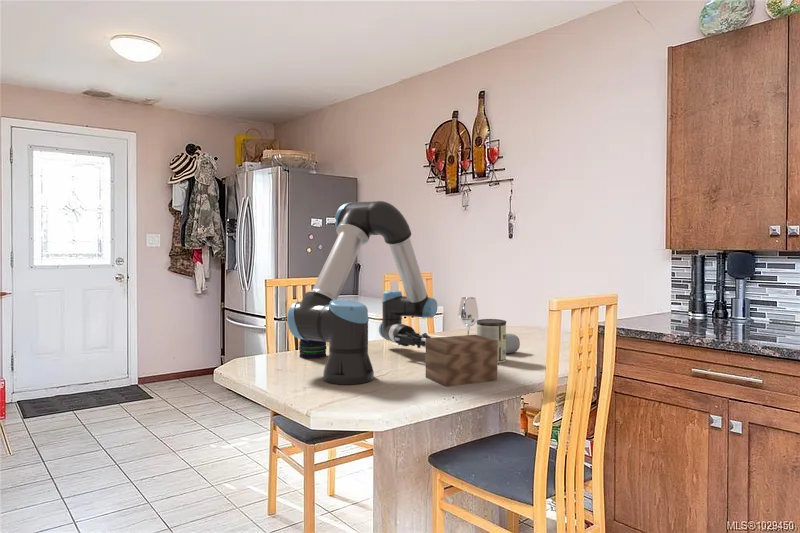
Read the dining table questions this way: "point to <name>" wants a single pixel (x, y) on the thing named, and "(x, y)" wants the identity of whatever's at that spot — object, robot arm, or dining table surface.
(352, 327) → the robot arm
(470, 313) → the wineglass
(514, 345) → the ceramic mug
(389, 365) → the dining table surface
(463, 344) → the block
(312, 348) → the storage jar
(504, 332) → the coffee can
